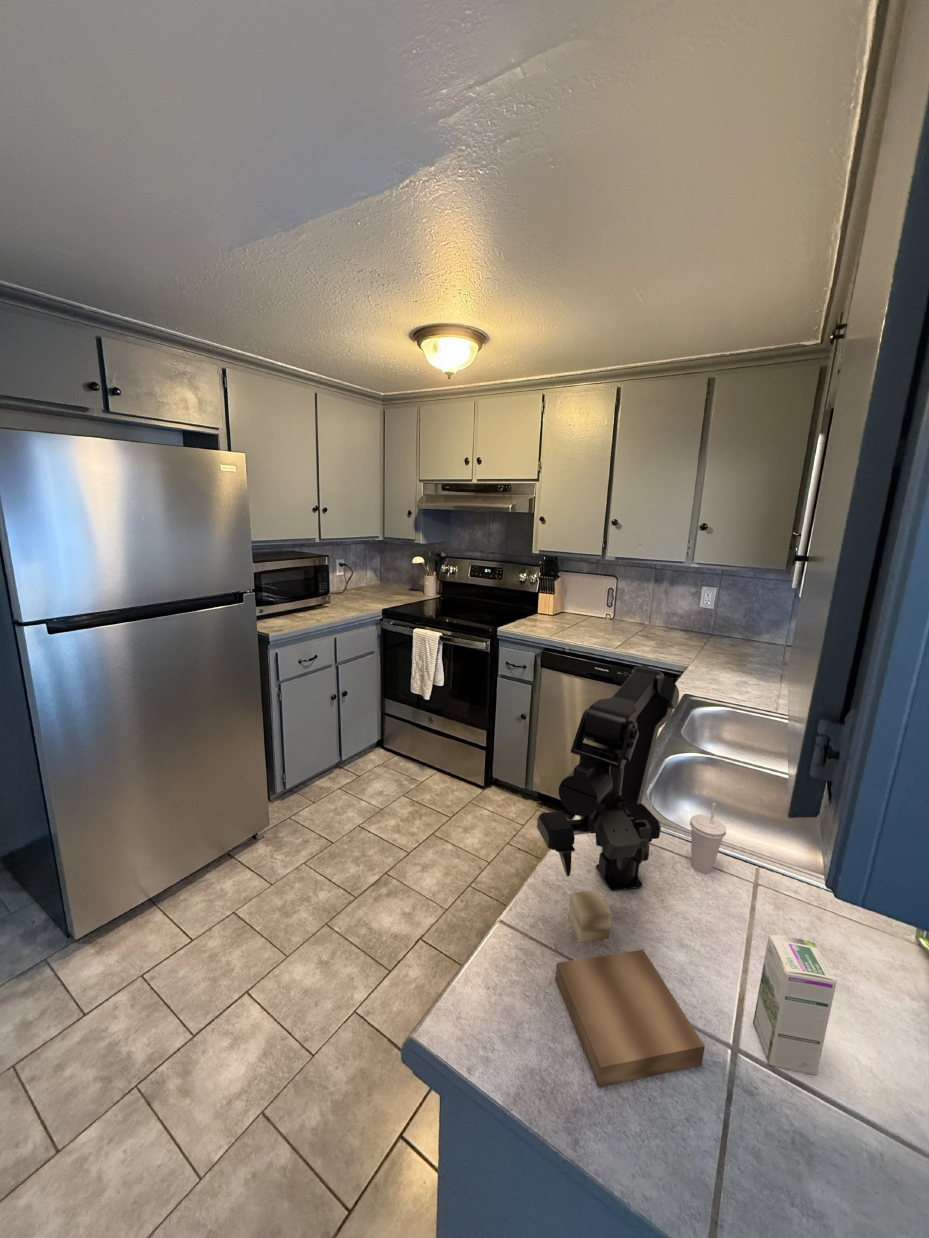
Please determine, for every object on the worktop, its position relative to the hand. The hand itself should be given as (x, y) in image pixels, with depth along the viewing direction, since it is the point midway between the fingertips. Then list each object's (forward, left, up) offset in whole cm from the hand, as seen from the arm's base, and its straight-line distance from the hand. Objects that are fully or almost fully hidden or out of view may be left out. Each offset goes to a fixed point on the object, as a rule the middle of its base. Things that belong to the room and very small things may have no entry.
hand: (593, 871), depth 79 cm
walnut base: (+2, +15, -11) cm, 19 cm away
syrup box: (-17, +22, -11) cm, 30 cm away
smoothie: (-29, -10, -11) cm, 33 cm away
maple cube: (0, 0, -11) cm, 11 cm away
